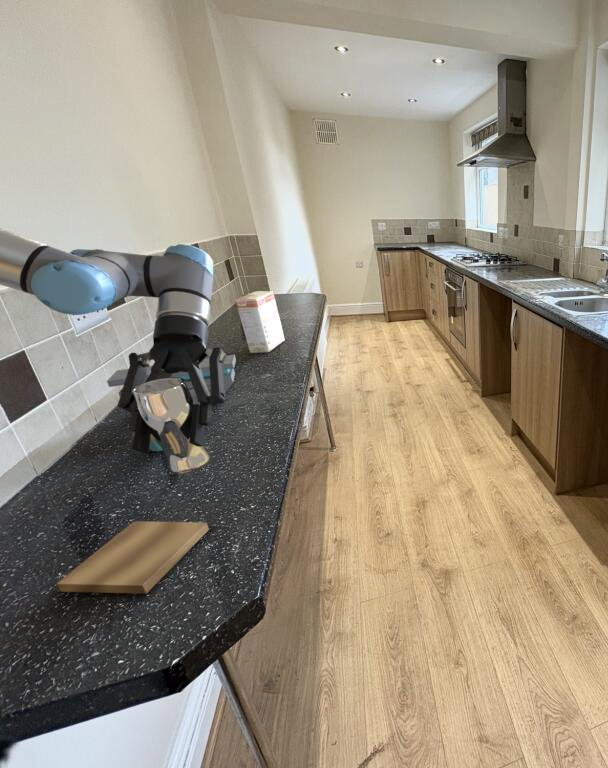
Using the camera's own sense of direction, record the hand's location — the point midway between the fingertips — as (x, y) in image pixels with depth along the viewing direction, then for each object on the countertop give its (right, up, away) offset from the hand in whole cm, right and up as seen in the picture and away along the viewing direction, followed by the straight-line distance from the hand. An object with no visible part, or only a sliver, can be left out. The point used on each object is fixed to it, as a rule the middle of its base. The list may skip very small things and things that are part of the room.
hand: (168, 447), depth 66 cm
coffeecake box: (-37, +24, +89) cm, 100 cm away
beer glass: (-1, -4, +5) cm, 7 cm away
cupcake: (-21, -4, +24) cm, 33 cm away
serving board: (0, -16, -5) cm, 16 cm away
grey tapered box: (-31, +4, +43) cm, 53 cm away
